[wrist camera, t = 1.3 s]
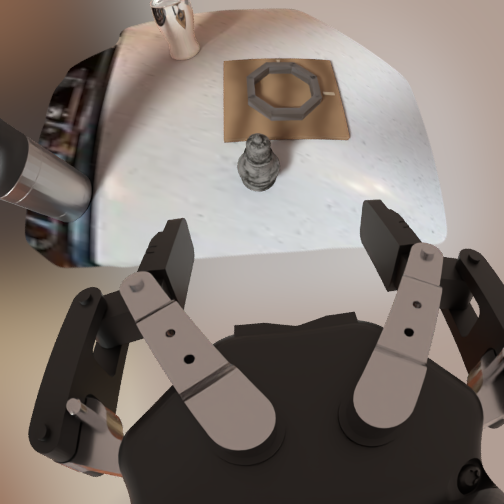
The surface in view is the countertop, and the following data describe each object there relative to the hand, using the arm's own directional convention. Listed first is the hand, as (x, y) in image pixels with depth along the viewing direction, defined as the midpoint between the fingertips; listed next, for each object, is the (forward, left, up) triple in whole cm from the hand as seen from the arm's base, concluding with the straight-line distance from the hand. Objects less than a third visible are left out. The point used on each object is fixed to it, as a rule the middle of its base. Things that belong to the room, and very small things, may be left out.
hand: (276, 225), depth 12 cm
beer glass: (-13, +43, -28) cm, 53 cm away
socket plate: (+5, +28, -28) cm, 40 cm away
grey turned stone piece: (0, +13, -28) cm, 31 cm away
